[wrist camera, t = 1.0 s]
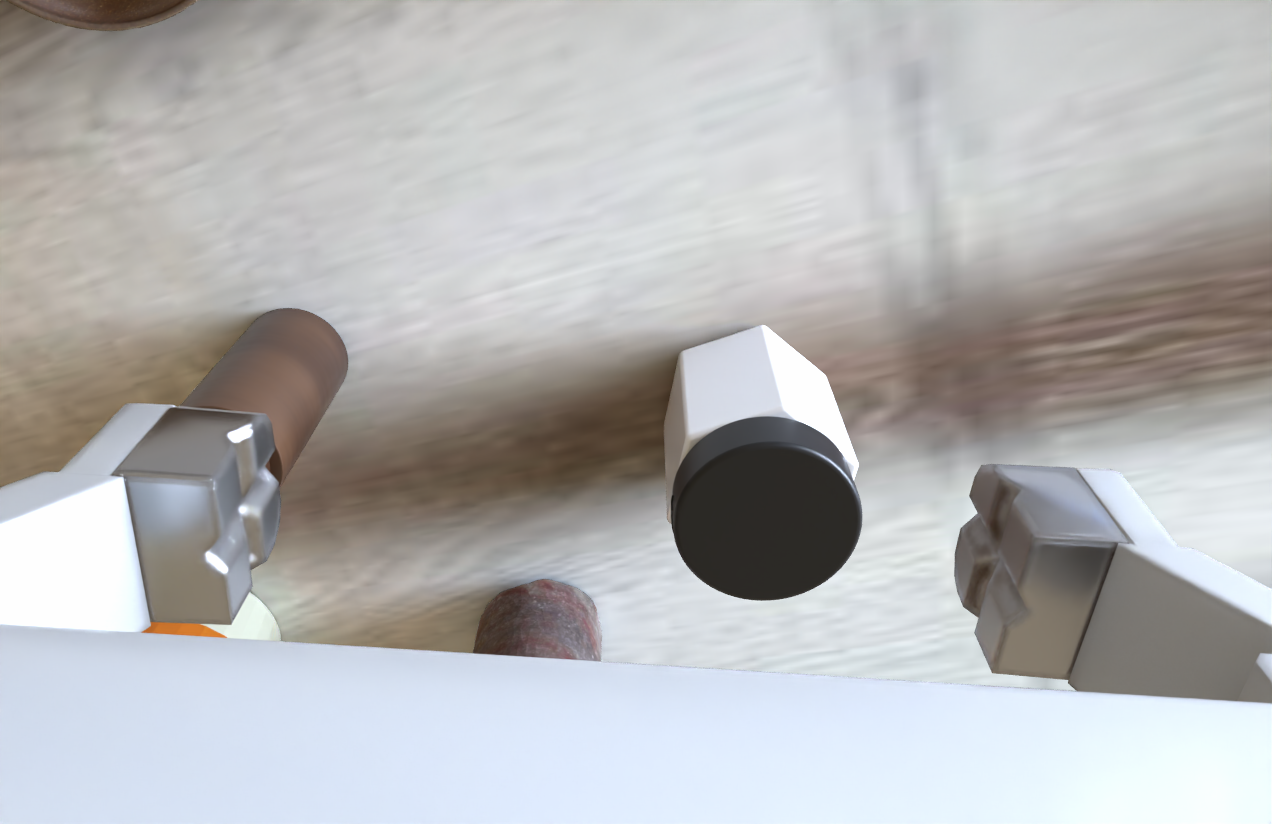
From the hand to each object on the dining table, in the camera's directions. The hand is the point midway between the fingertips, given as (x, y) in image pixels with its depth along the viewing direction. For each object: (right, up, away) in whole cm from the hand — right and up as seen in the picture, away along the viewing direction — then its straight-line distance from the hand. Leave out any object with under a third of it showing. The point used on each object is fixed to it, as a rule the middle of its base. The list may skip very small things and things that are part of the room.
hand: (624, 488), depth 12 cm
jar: (+6, +2, +43) cm, 43 cm away
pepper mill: (-18, +4, +42) cm, 45 cm away
